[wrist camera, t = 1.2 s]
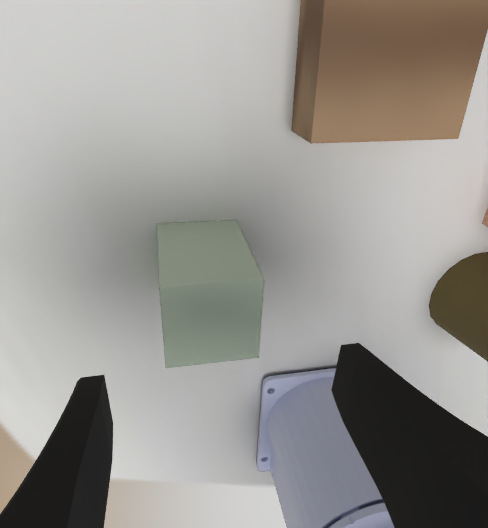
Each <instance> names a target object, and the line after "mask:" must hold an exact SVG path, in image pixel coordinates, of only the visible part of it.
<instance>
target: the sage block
mask: <svg viewBox="0 0 488 528" xmlns="http://www.w3.org/2000/svg"><path fill="white" fill-rule="evenodd" d="M157 236H158V265H159V290H160V303H161V315H162V328H163V340H164V352H165V365H166V368H171V367H180V366H189V365H198V364H206V363H215V362H224V361H233V360H242V359H250V358H259V345H260V330H261V315H262V301H263V286H264V278H263V276H262V274H261V272H260V270H259V268H258V266H257V263H256V261H255V259H254V257H253V255H252V253H251V251H250V248H249V246H248V244H247V242H246V240H245V238H244V236H243V233H242V231H241V229H240V227H239V225H238V223H237V221H236V220H222V221H201V222H180V223H159V224H157Z"/></svg>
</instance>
